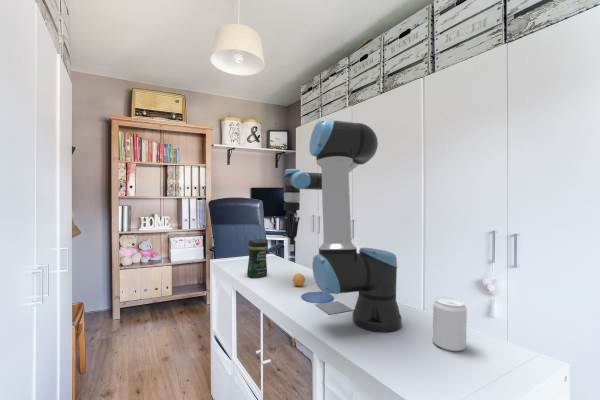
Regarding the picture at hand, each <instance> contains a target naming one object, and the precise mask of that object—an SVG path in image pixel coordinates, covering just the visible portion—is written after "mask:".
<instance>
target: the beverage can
mask: <svg viewBox="0 0 600 400" xmlns="http://www.w3.org/2000/svg"><path fill="white" fill-rule="evenodd" d="M434 300H435V301H434V302H433V303H432V305H433V306H432V307H433V308H432V310H433V311H432V341H433V343H434V345H436V346H438V347H440V349H441V348H442V349H444V350H446V351H450V352H460V351H464V350H465V349H467V316H468V315H467V314H468V313H467V312H468V311H467V310H468V309H467V307H466V303H465V302H464V301H463V300H461V299H458V298H454V297H448V296H438V297H436V298H435V299H434Z"/></svg>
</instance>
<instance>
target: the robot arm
mask: <svg viewBox="0 0 600 400" xmlns="http://www.w3.org/2000/svg"><path fill="white" fill-rule="evenodd" d="M378 145H379V143H378V138H377V134H376V132H375V131H374V129H372V128H371V127H370V126H369V125H367V124H364V123H360V122H351V121H350V122H349V121H342V120H341V121H340V120H334V119H321V120H319V121H317V123H316V124H315V125H314V127H313V129H312V132H311V136H310V141H309V153H310V155H311V156H312V157H316V164H317V165H318V166H319V167H320V168H321V171H320V172H306V171H301V170H300V169H297V168H288V169H285V171H284V175H283V176H284V177H283V179H284V184H283V185H284V187H283V188H284V189H283V191H284V194H283V197H284V198H283V201H284V202H283V210H284V211H286V213H285V214H286V215H284V216H283V218H284V228H285V229H284V230H285V236H287V252H288V253H289V252H294V251H295V238H296V237H298V236H297V235H298V228H299V222H300V217H299V216H298V211H300V201H301V190H315V191H316V190H320V191H321V197H322V203H321V204H322V226H323V227H322V231H323V232H322V233H323V235H322V237H323V238H322V239H323V242H322V244H321V245H320V247H318V253H317V254H316V255H314V257H313V258H312V267H311V268H312V273H313V274H312V275H313V277H314V281H315V284H316V286H317V287H318V289H319V290H320V292H323V293H326V294H330V295H333V294H334V295H339V294H346V293H358V296H357V299H356V302H355V306H354V309H353V311H352V321H353V323H354V324H355V325H356V326H358V327H360V328H362V329H364V330H368V331H371V332H378V333H379V332H383V333H388V332H395V331H397V330H399V329H401V327H402V315H401V313H400V309H399V305H398V302H397V278H398V277H397V272H398V271H397V269H398V261H397V259H398V258H397V256H396V254H395V253H393V252H390V251H387V250H383V249H377V248H372V247H360V248H359V250H358V251H357V249H358V248H357V246H355V245H354V244H353V241H352V228H351V226H352V224H351V223H352V222H351V221H352V220H351V200H350V175H349V174H350V173H351V172H352V171H354V169H356V168H357V167H358V166H360V165H365V164H366V163H368V162H370V160H371V159H372V158H373V157H374V156H375V154H376V152H377V150H378V147H379V146H378Z"/></svg>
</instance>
